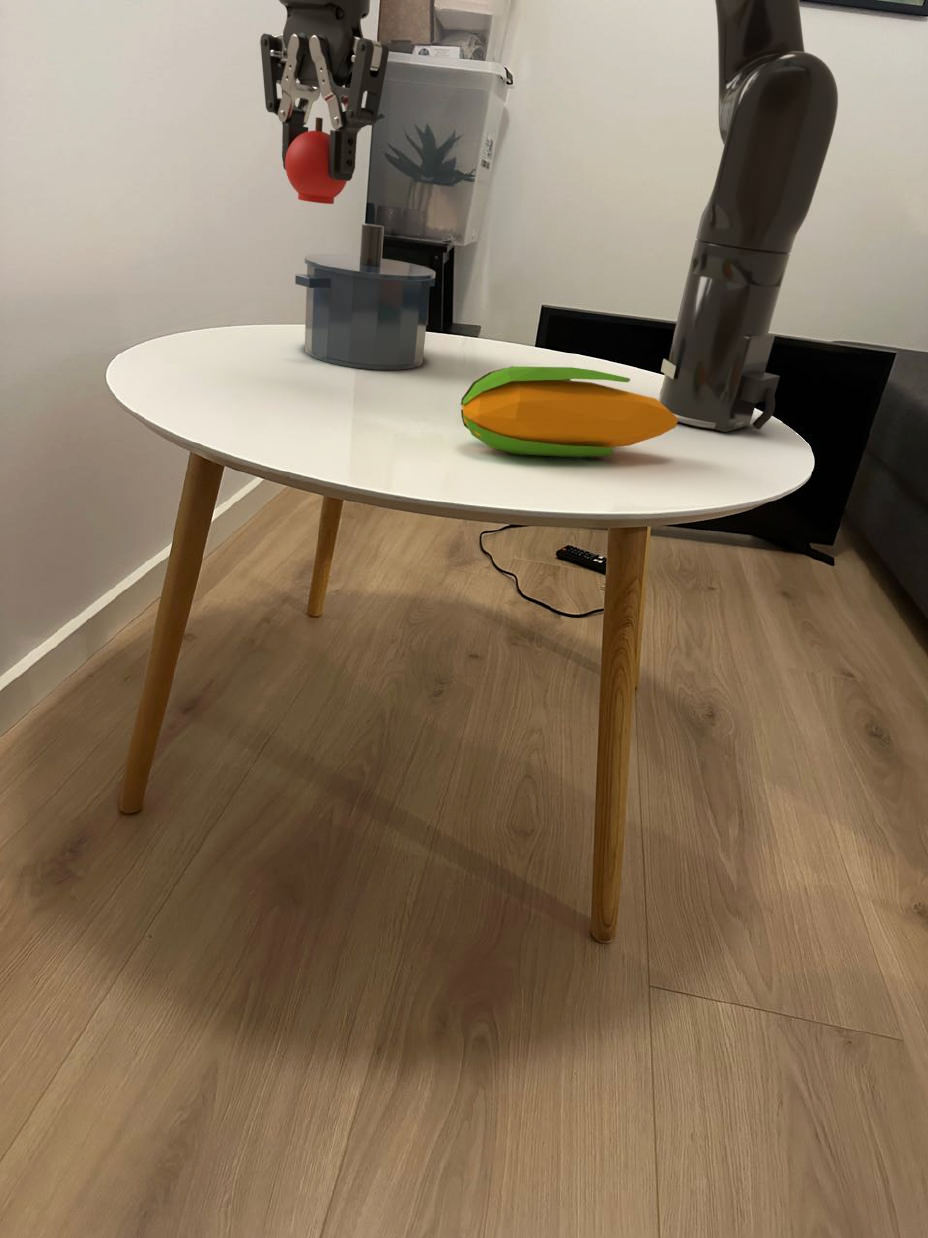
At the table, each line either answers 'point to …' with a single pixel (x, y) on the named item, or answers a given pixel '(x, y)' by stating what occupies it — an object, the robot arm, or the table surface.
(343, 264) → the pot lid
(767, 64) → the robot arm
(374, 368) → the pot
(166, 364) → the table surface
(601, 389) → the corn
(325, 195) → the apple
